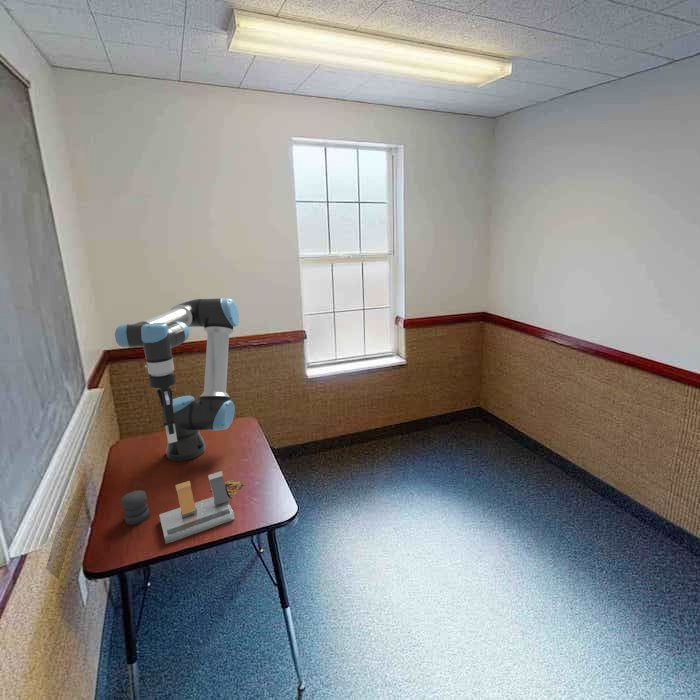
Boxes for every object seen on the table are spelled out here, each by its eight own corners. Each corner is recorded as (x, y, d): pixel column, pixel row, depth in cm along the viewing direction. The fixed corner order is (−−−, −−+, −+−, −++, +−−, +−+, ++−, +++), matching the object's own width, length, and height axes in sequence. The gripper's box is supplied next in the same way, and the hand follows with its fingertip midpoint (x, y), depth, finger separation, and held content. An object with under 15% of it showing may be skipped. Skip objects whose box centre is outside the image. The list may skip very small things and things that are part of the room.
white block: (214, 505, 134) (207, 475, 136) (228, 501, 136) (221, 471, 138) (215, 505, 132) (208, 475, 134) (229, 500, 134) (222, 470, 136)
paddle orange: (181, 517, 129) (175, 485, 131) (196, 512, 131) (189, 481, 133) (182, 516, 127) (175, 485, 130) (197, 511, 129) (190, 480, 132)
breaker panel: (160, 521, 131) (159, 513, 130) (224, 499, 140) (223, 492, 140) (165, 544, 121) (164, 536, 120) (234, 519, 130) (233, 511, 130)
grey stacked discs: (124, 515, 134) (120, 495, 132) (148, 508, 137) (144, 487, 135) (126, 528, 128) (121, 506, 126) (150, 519, 132) (146, 498, 130)
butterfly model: (234, 500, 141) (233, 492, 140) (207, 491, 146) (205, 484, 145) (251, 486, 148) (250, 479, 147) (224, 479, 154) (223, 471, 153)
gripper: (146, 369, 134) (157, 437, 140) (150, 380, 123) (162, 453, 129) (171, 365, 137) (181, 431, 143) (177, 375, 126) (188, 446, 132)
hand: (172, 441), depth 136 cm, fingers closed
